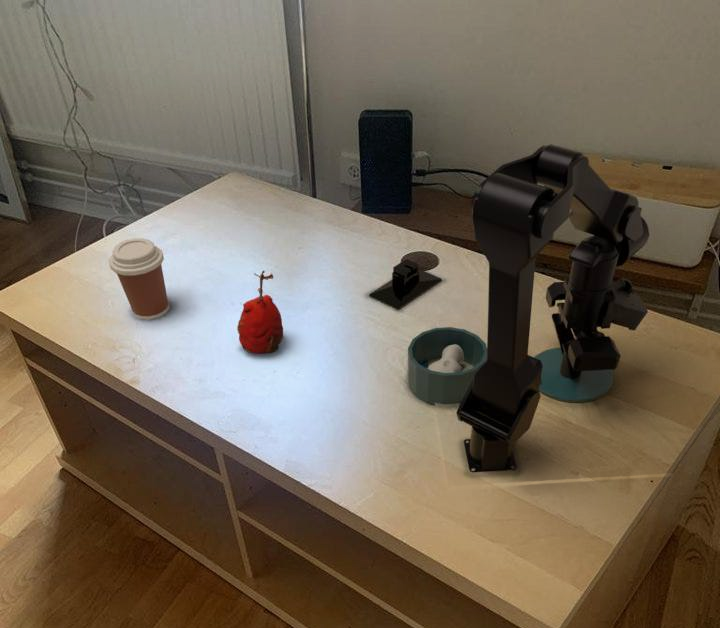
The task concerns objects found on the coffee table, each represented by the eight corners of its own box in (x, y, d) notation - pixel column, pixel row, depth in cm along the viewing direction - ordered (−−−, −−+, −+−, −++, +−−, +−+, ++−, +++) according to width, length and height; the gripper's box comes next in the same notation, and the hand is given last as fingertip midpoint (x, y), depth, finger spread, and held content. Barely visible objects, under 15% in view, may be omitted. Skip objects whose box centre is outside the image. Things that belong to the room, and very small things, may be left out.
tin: (489, 404, 108) (493, 372, 104) (411, 408, 108) (412, 377, 104) (477, 356, 116) (481, 325, 112) (405, 360, 116) (405, 329, 112)
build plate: (398, 311, 126) (397, 287, 123) (367, 296, 130) (366, 273, 126) (442, 280, 132) (443, 257, 129) (411, 267, 136) (411, 244, 132)
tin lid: (622, 403, 107) (632, 370, 103) (536, 408, 107) (542, 375, 103) (599, 351, 116) (607, 318, 112) (519, 355, 116) (524, 323, 112)
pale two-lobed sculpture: (445, 401, 110) (418, 383, 111) (469, 371, 115) (443, 354, 115) (454, 383, 107) (426, 364, 107) (479, 353, 111) (451, 336, 112)
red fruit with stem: (268, 327, 124) (255, 248, 113) (295, 344, 121) (284, 263, 110) (233, 347, 121) (216, 267, 110) (259, 365, 117) (245, 284, 106)
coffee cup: (140, 292, 134) (122, 232, 125) (185, 298, 132) (169, 237, 123) (116, 320, 128) (95, 259, 119) (162, 327, 126) (144, 265, 117)
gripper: (671, 315, 93) (642, 407, 104) (629, 242, 106) (606, 331, 117) (585, 320, 93) (565, 411, 104) (553, 247, 106) (538, 335, 117)
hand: (570, 370), depth 111 cm, fingers closed on tin lid, 3 cm apart
